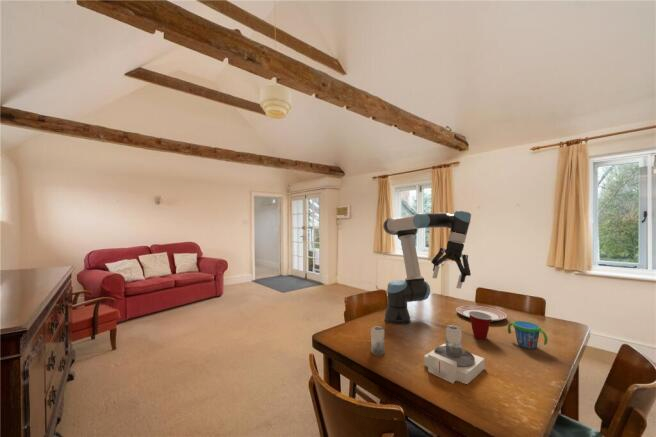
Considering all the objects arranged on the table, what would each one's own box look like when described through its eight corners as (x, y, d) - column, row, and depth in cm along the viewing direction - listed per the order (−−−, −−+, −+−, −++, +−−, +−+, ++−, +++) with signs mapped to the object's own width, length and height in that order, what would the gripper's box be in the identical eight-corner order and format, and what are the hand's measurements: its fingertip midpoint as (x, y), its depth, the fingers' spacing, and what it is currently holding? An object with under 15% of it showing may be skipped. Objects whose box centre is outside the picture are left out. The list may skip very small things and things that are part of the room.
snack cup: (503, 341, 131) (503, 321, 131) (515, 337, 135) (515, 317, 135) (539, 355, 117) (539, 333, 117) (552, 350, 121) (551, 328, 121)
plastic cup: (496, 343, 129) (496, 318, 129) (472, 341, 131) (472, 317, 131) (487, 333, 140) (487, 311, 140) (465, 332, 142) (465, 310, 142)
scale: (419, 368, 107) (419, 351, 107) (444, 352, 120) (443, 337, 120) (462, 388, 94) (462, 369, 94) (484, 368, 107) (484, 351, 107)
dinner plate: (446, 312, 172) (446, 307, 172) (475, 307, 183) (475, 302, 183) (486, 328, 147) (486, 322, 147) (517, 320, 158) (516, 315, 158)
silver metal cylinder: (443, 353, 109) (442, 327, 109) (450, 349, 113) (449, 323, 113) (457, 359, 104) (457, 331, 104) (464, 354, 108) (464, 327, 108)
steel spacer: (368, 352, 121) (368, 328, 121) (377, 348, 125) (376, 324, 125) (378, 357, 116) (378, 332, 116) (387, 352, 120) (386, 328, 120)
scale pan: (427, 355, 109) (427, 353, 109) (445, 344, 119) (445, 342, 119) (464, 371, 98) (464, 368, 98) (480, 358, 107) (480, 355, 107)
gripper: (485, 249, 121) (474, 292, 122) (439, 237, 142) (429, 274, 143) (477, 247, 117) (465, 292, 118) (430, 235, 138) (421, 274, 139)
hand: (446, 283), depth 131 cm, fingers open, 13 cm apart
